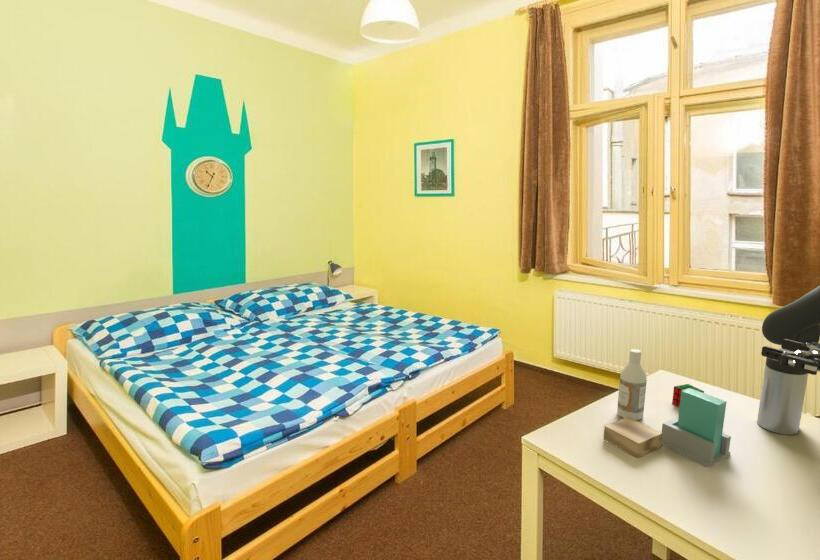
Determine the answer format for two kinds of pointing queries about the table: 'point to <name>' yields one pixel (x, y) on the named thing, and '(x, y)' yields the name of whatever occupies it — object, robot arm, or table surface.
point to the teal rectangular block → (702, 416)
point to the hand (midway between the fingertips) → (772, 346)
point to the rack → (693, 444)
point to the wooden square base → (632, 437)
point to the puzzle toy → (678, 393)
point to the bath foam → (632, 388)
